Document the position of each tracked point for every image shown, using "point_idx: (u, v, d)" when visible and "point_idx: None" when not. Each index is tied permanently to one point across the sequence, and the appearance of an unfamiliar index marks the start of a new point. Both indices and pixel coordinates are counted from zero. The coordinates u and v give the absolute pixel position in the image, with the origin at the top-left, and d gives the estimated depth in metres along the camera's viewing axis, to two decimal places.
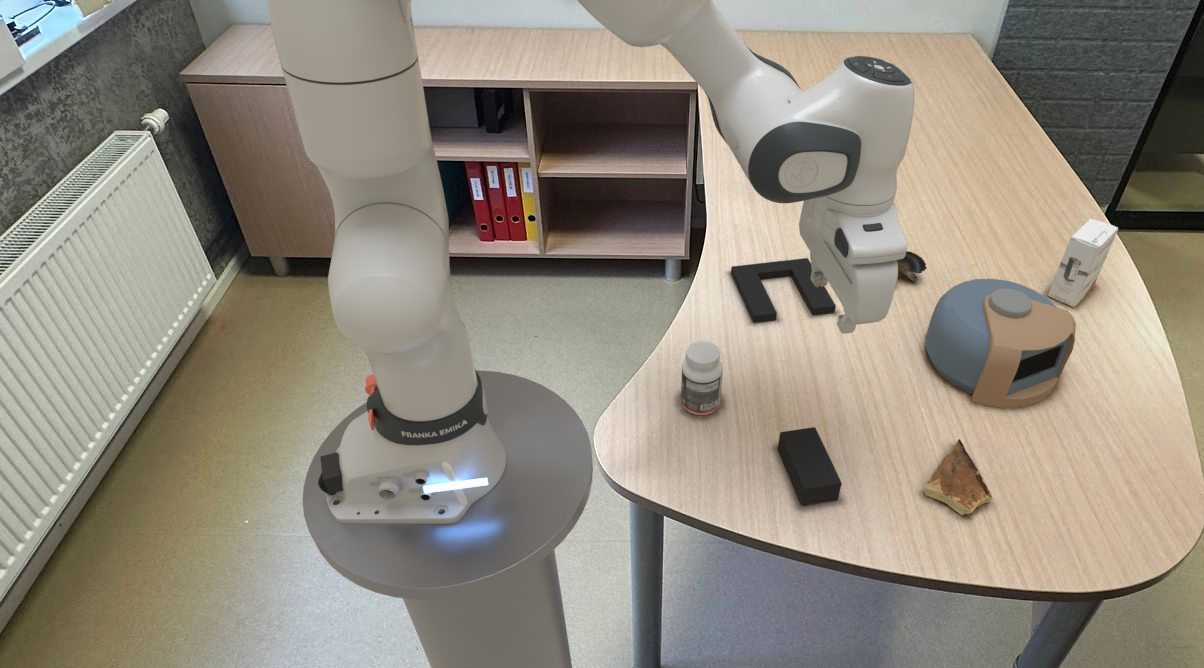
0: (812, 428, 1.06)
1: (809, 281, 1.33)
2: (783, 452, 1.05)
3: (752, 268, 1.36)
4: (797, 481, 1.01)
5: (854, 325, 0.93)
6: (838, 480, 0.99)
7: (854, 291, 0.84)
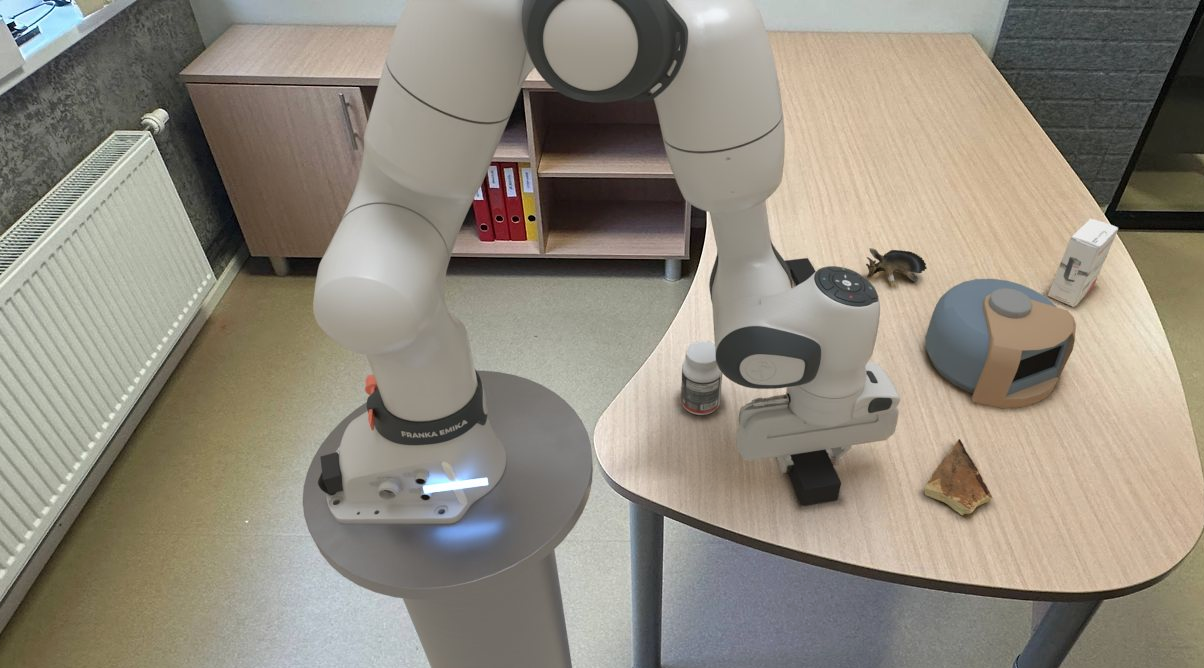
0: None
1: None
2: None
3: None
4: (797, 481, 1.01)
5: None
6: (838, 480, 0.99)
7: (894, 419, 0.97)
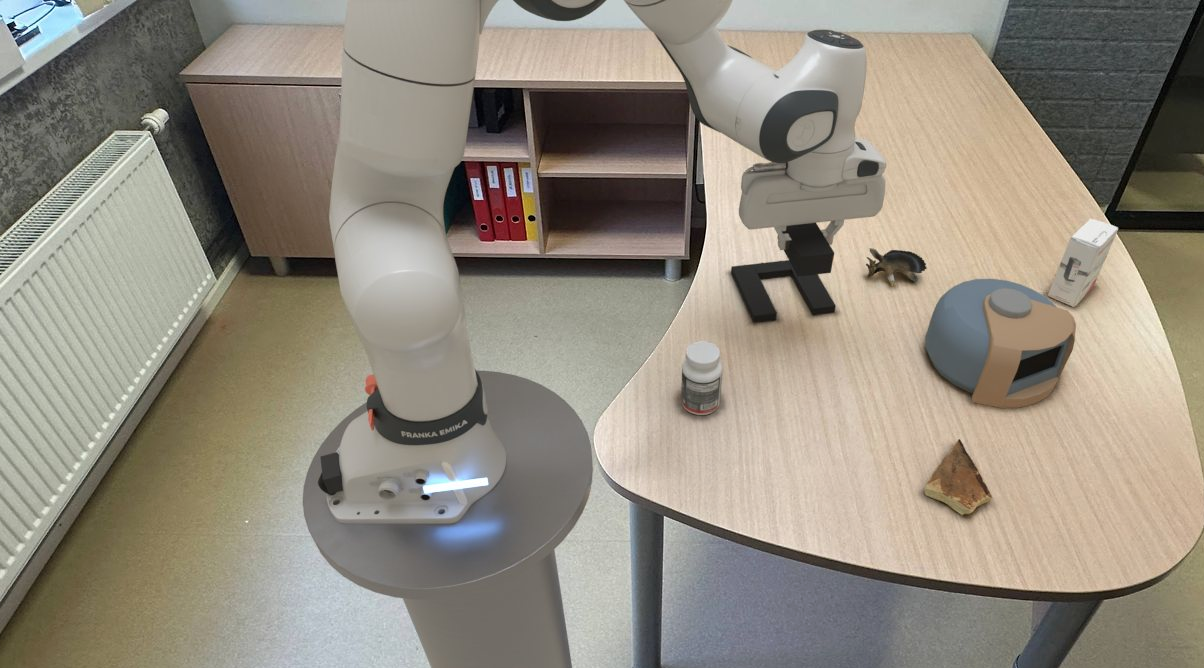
0: None
1: (809, 281, 1.33)
2: None
3: (752, 268, 1.36)
4: (794, 254, 1.12)
5: None
6: (831, 250, 1.10)
7: (881, 190, 1.08)
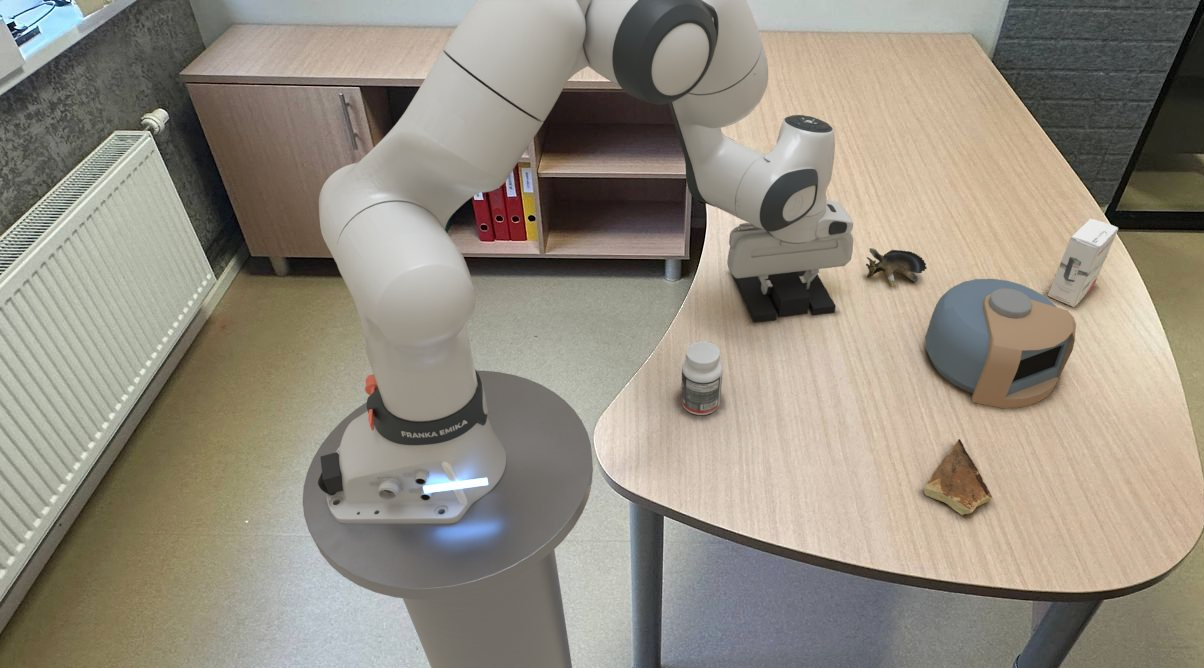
0: None
1: None
2: None
3: None
4: (776, 298, 1.29)
5: None
6: (807, 295, 1.27)
7: (850, 245, 1.25)
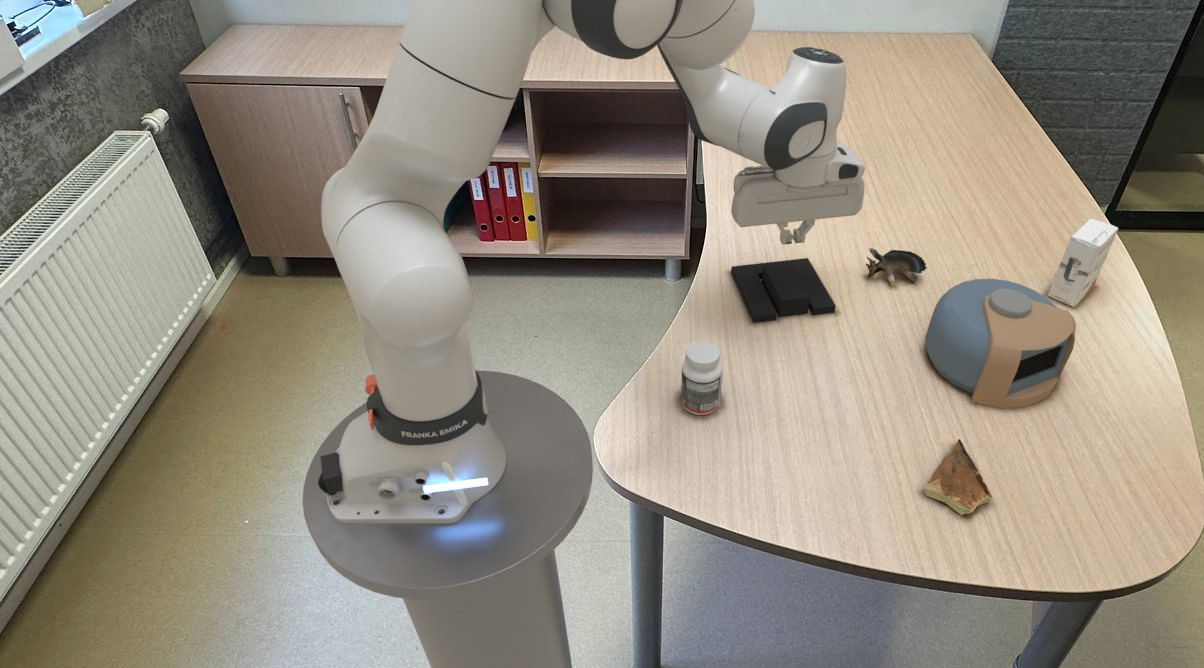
0: (788, 262, 1.34)
1: (809, 281, 1.33)
2: (765, 281, 1.33)
3: (752, 268, 1.36)
4: (776, 298, 1.29)
5: None
6: (807, 295, 1.27)
7: (861, 191, 1.18)
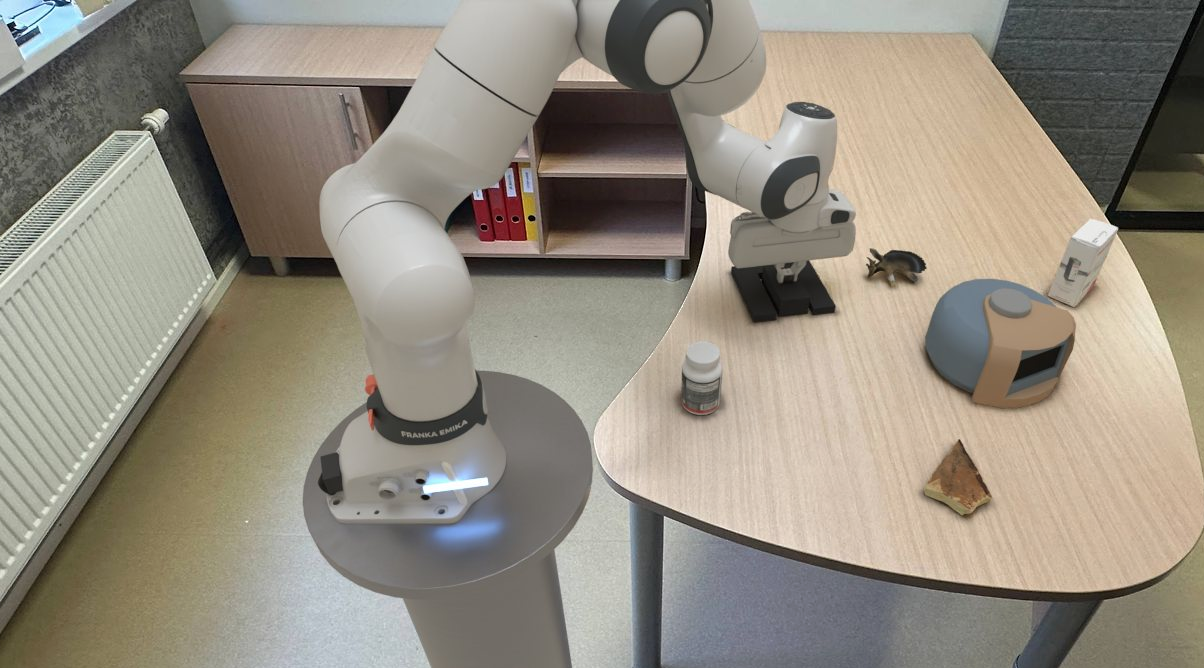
0: None
1: (809, 281, 1.33)
2: (765, 281, 1.33)
3: (752, 268, 1.36)
4: (776, 298, 1.29)
5: None
6: (807, 295, 1.27)
7: (852, 234, 1.23)
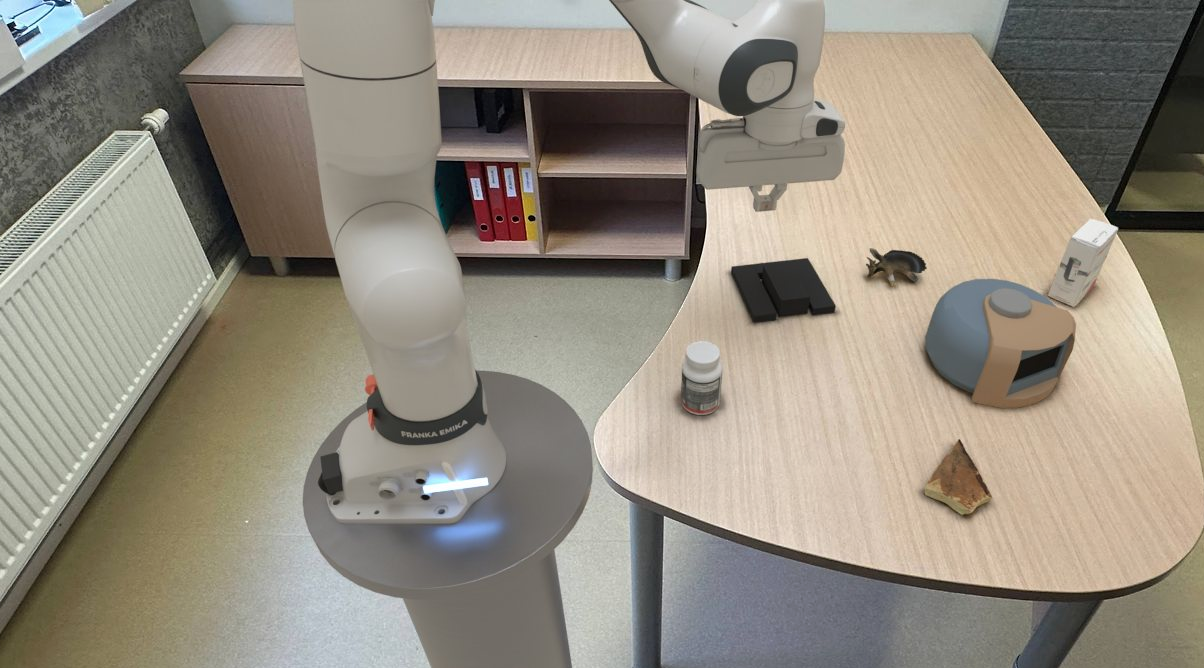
0: (788, 262, 1.34)
1: (809, 281, 1.33)
2: (765, 281, 1.33)
3: (752, 268, 1.36)
4: (776, 298, 1.29)
5: None
6: (807, 295, 1.27)
7: (841, 152, 1.06)
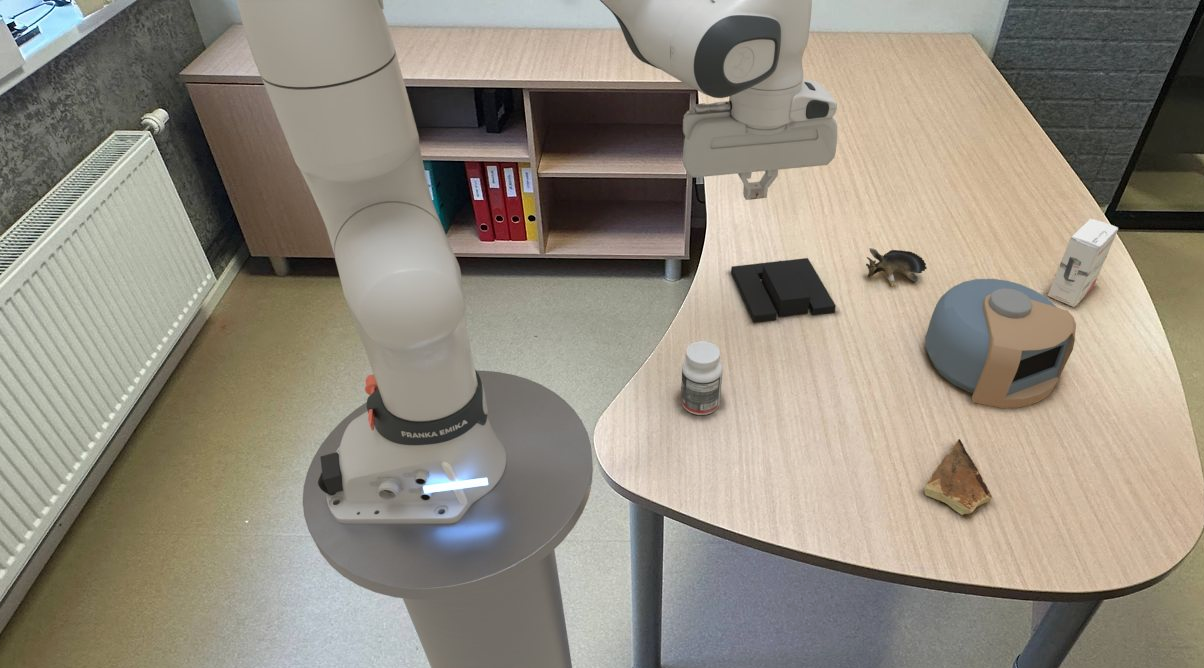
0: (788, 262, 1.34)
1: (809, 281, 1.33)
2: (765, 281, 1.33)
3: (752, 268, 1.36)
4: (776, 298, 1.29)
5: None
6: (807, 295, 1.27)
7: (833, 135, 1.01)
